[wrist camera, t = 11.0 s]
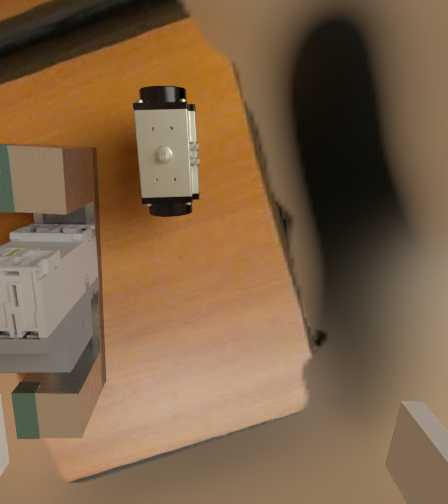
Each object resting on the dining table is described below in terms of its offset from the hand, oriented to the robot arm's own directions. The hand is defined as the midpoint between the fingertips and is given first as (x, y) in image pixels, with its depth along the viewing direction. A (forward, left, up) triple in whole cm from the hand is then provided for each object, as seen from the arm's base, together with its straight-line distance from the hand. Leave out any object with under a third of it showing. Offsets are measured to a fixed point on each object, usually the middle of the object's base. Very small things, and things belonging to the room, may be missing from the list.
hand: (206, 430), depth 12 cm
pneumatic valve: (-8, -4, -35) cm, 36 cm away
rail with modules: (+8, -17, -35) cm, 39 cm away
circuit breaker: (+8, -17, -33) cm, 38 cm away
